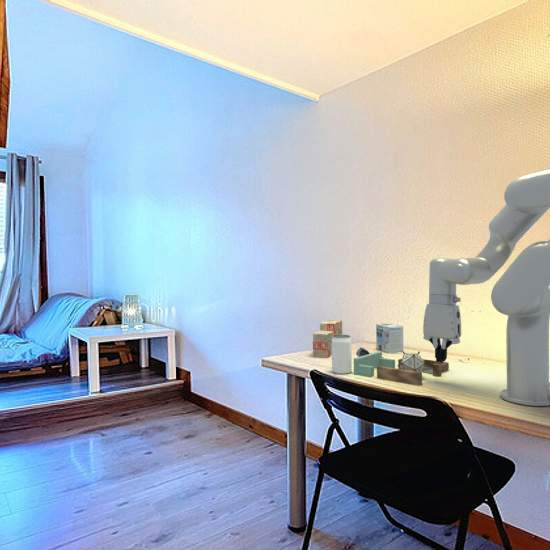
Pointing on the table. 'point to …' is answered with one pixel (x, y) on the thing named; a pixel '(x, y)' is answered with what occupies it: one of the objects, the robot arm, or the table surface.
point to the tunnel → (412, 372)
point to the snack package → (362, 352)
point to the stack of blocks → (326, 338)
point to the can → (341, 354)
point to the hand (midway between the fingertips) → (440, 361)
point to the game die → (412, 362)
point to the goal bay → (371, 363)
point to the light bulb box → (389, 337)
